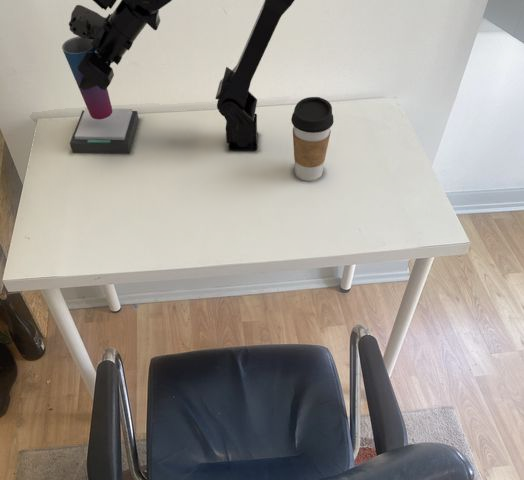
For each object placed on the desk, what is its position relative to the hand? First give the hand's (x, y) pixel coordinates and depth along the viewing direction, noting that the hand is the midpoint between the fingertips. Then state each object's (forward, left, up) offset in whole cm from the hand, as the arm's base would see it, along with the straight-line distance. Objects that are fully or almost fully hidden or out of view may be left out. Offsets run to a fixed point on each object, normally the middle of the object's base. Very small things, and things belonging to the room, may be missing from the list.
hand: (85, 80), depth 115 cm
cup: (-1, 0, -8) cm, 8 cm away
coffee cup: (-48, +12, -13) cm, 51 cm away
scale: (-1, 0, -13) cm, 13 cm away
